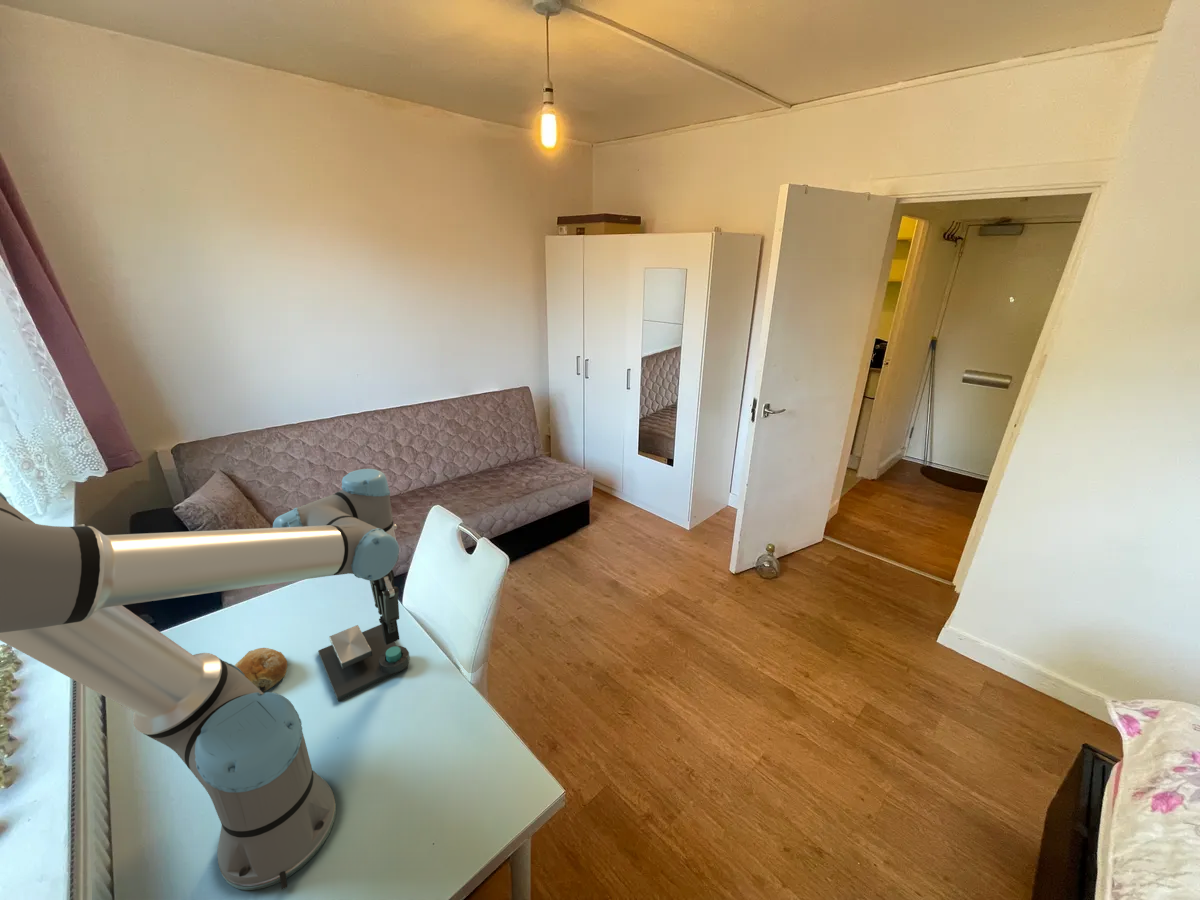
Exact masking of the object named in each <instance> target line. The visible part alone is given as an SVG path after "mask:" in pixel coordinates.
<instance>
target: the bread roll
mask: <svg viewBox="0 0 1200 900" xmlns="http://www.w3.org/2000/svg"><path fill="white" fill-rule="evenodd" d="M234 666H236V667H237V668H239V669H240V670H241V671H242V672H243V674H244V675H245V677H246V678H247V679H248V680H250V681H251V682H252V683H253V684H254V685H255V686H256V687H257V688H258V689H259V690H261V691H262V692H263V693H265V692H268V690H270V689H272V688H273V687H275V686H276V685H278V684H279V683H280V682H281V681H282V679H283V678H284V677H285V676H286V674H287V670H288V660H287V658H286V656H285V655H284V654H283V652H281V651H278V650H275V649H274V648H269V647H259V648H256V649H253V650H249V651H247V653H245V654H244V656H243V657H241V659H240V660H238V661H237V662H236V663H235V664H234Z"/></svg>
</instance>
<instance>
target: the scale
mask: <svg viewBox="0 0 1200 900" xmlns="http://www.w3.org/2000/svg"><path fill="white" fill-rule="evenodd" d="M361 632H362V634H363V635H364V637H365V639H366V641H367V643H368V645H369V647H370V649H371V650H372V656H370V657H368V658H366V659H364V660H361V661H359V662H357V663H355V664H353V665H350V666H348V667H346V668H344V669H342V667H341V665H340V662H339V660H338V658H337V656H336V653H335V651H334V649H333V647H332V644H331V645H328V646H325V647H324V648H321V649H319V650H318V655H319V658H320V660H321V662H322V666H323V667H324V670H325V674H326V675H327V678H328V681H329V684H330V685H331V688H332V691H333V693H334V695H335V697H336V701H337V702H341V701H343V700H345V699H347V698H349V697H351V696H353V695H355V694H358V693H359V692H362V691H364V690H366V689H368V688H370V687H372V686H374V685H376V684H378V683H380V682H382V681H385V680H387V679H388V678H390V677H393V676H394V675H396V674H399V673H401V672H403V671H404V670H407V669H408V668H409V666H408V665H409V663H410V660H411V659H410V652H409V650H408V648H407V647H405V646H402V645H397V644H396V643H395V642H396V641H395V642H392V643H390V644H388V645H386V643H385V641H384V636H383V631H382V625H381V624H379V625H375V626H374V627H371V628H369V629H367V630H364V631H361ZM394 646H397V647H399V648H400V649H401V658H400V660H398V661H397V662H394V663H389V662H388V661H387V659H386V651H387V650H388V649H389V648H391V647H394Z"/></svg>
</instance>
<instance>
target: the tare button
mask: <svg viewBox="0 0 1200 900" xmlns="http://www.w3.org/2000/svg"><path fill="white" fill-rule="evenodd" d="M397 646H398V645H396V646H394V647H391V648H389V649H388V650H387V651H386V659H387V661H388V662H389V663H394V662H397V661H398V660H400V658H401V649H400V648H399V647H397Z"/></svg>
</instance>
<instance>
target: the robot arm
mask: <svg viewBox="0 0 1200 900" xmlns="http://www.w3.org/2000/svg"><path fill="white" fill-rule="evenodd" d="M397 528H398V525H397V524H396V523H394V516H393V509H392V502H391V491H390V487H389V484H388V479H387V476H386V474H385V473H384V472H383V471H381V470H378V469H376V468H361V469H356V470H353V471H350V472H349V473H347V474H346V475H344V476H343V477H342V479H341V489H340V490H339V491H336V492H334V493H333V494H329V495H327V496H325V497H322V498H320V499H317V500H314V501H311V502H308V503H306V504H304V505H301V506H299V507H294V508H293V509H292V510H289V511H287V512H285V513H283V514H280V515H278V516H277V517H276V518H275V519H274V521H273V523H272V527H261V528H260V527H259V528H241V529H239V528H238V529H218V530H217V529H215V530H193V531H173V532H148V533H145V532H144V533H128V534H127V533H126V534H125V533H124V534H123V533H122V534H104V533H102V531H100V530H99V529H97V528H95V527H94V526H92V525H78V526H74V525H73V526H59V525H58V526H56V525H55V526H54V525H46V524H40V523H35V522H34V521H33V520H31V519H30V518H29V517H27V516H26V515H25V514H23V513H22V512H21V511H19V510H18V509H17V508H15V507H14V506H13V505H11V504H10V503H9V501H8V500H7V497H6V496H5V495H4V494H3V493H2V492H1V491H0V641H1V642H2V643H4V644H6V645H7V646H10V647H11V648H14V649H15V650H17V651H19V652H21V653H24V655H26V656H28V657H31V658H32V659H34V660H36V661H38V662H40V663H42V664H44V665H45V666H46V667H49V668H51V669H52V670H55V671H56V672H58V673H60V674H62V675H64V676H66V677H67V678H70V679H71V680H73V681H75V682H77V683H79V684H81V685H83V686H85V687H87V688H88V689H90V690H92V691H94V692H95V693H98V694H99V695H101V696H103V697H105V698H107V699H109V700H111V701H113V702H114V703H116V704H118V705H120V706H122V707H124V708H125V709H128V710H129V711H131V712H133V715H132V724H133V727H134V729H136V731H138V732H139V733H141V734H143V735H145V736H147V737H149V738H151V739H153V740H154V741H156V742H159V743H160V744H163V745H164V746H166V747H168V748H169V749H171V750H172V751H173V752H175V754H176V755H177V756H178V757H179V758H180V759H181V760H182V762H183V763H184V764H185V765H186V766H187V768H188V770H189V771H190V772H191V773H192V774H193V776H194V777H195V778H196V779H197V781H198V782H199V783H200V784H201V785H202V787H203V788H204V790H205V791H206V793H207V794H208V796H209V797H210V799H211V802H212V804H213V806H214V810H215V812H216V814H217V817H218V819H219V821H220V825H221V827H220V832H219V838H218V845H217V863H218V868H219V870H220V871H219V872H220V873H221V876H222V877H223V879H224V881H225V882H226V883H227V884H228V885H230V886H231V887H233V888H235V889H238V890H243V891H254V890H255V891H256V890H261V889H265V888H268V887H271V886H274V885H276V884H278V883H280V889H281V890H284V889H286V888H288V882H287V879H288V878H289V877H292V875H294V874H295V873H297V872H298V871H299V870H300V869H302V868H303V867H304V866H306V864H307V863H308V862H310V861H311V859H313V857H314V856H315V855H316V854H317V853H318V852H319V850H320V849H321V848H322V846H323V845H324V843H325V842H326V841H327V839H328V837H329V835H330V833H331V831H332V829H333V827H334V823H335V820H336V814H337V804H336V799H335V795H334V791H333V790H332V788H331V786H330V785H329V783H328V781H326V780H325V779H324V778H323V777H321V775H319V774H318V773H317V772H316V771H314V770H313V767H312V763H311V759H310V755H309V752H308V747H307V744H306V739H305V735H304V732H303V726H302V725H303V723H302V720H301V717H300V714H299V712H298V711H297V710H296V708H295V706H294V704H293V703H292V701H290V700H289V699H288V698H286V697H285V696H284V695H283V694H280V693H277V692H271V691H265V692H262V691H261V690H259V689H258V688H257V687H256V686H255V685H254V684H253V683H252V682H251V681H250V680H248V679H247V678H246V677H245V675H244V674H243V672H242V671H241V670H240V669H239V668H237V667H236V666H235V664H232V663H230V662H228V661H225V660H223V659H221V658H220V657H218V655H215V654H213V653H210V652H200V653H199V652H198V653H195V654H192V653H191V652H189V651H188V650H187V649H185V648H183V647H182V646H181V645H179V644H178V643H176V642H175V641H174V640H172V639H171V638H169V637H168V636H167V635H165V634H163V633H162V632H161V631H159V630H158V629H157V628H155V627H154V626H152V625H151V624H149V623H148V622H147V621H145V620H144V619H142V618H141V617H139V616H138V615H137V614H135V613H134V612H132V611H131V610H130V609H128V608H127V607H125V606H126V605H133V604H141V603H148V602H152V601H153V602H155V601H162V600H169V599H176V598H183V597H184V598H185V597H190V596H197V595H204V594H211V593H217V592H224V591H233V590H240V589H246V588H255V587H261V586H262V587H263V586H267V585H276V584H282V583H289V582H297V581H303V580H311V579H317V578H325V577H333V576H341V575H342V576H343V575H354V577H356V578H358V579H363V580H366V581H368V582H369V584H370V588H371V592H372V597H373V602H374V606H375V608H376V609H377V610H378V611H377V613H378V615H380V616H379V618H378V622H379V623H380V625H382V631H383V636H384V641H385V643H386V645H388V644H390V643H392V642H396V641H399V640H400V632H399V627H398V626H399V625H398V620H400V605H399V593H400V592H399V590H400V589H399V588H398V586H395V582H394V581H395V580H394V579H395V573H394V570H393V569H394V567H395V566H396V564H397V563H398V561H399V557H400V556H399V554H400V545H399V542H398V540H397V538H396V531H395V530H396V529H397Z"/></svg>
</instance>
